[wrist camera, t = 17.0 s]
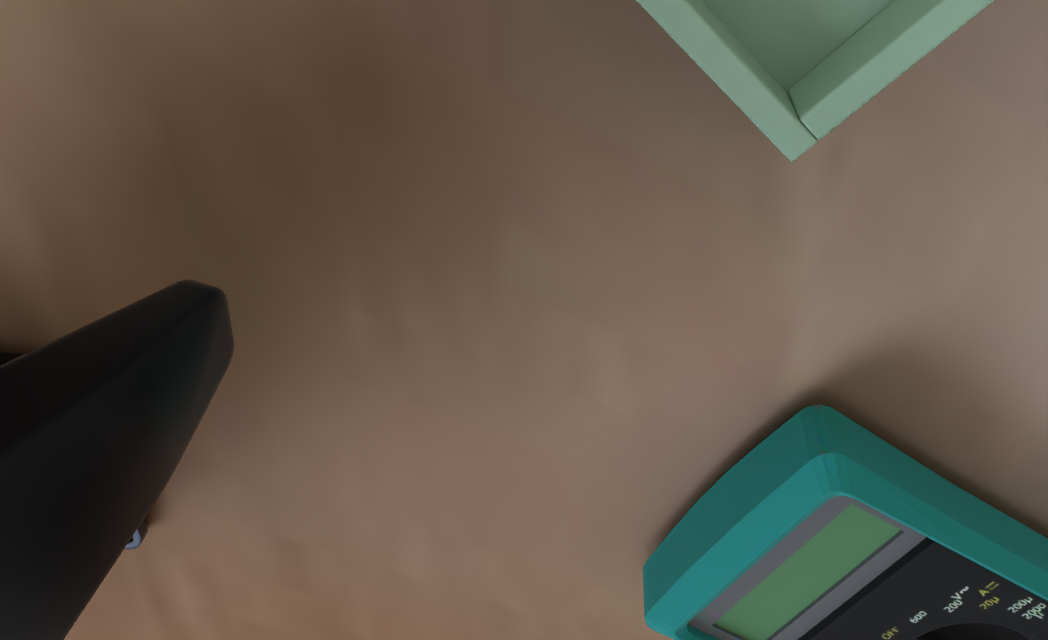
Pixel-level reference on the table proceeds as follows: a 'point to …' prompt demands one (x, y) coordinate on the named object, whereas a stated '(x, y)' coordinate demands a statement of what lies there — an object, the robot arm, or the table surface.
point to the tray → (807, 54)
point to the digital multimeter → (844, 549)
